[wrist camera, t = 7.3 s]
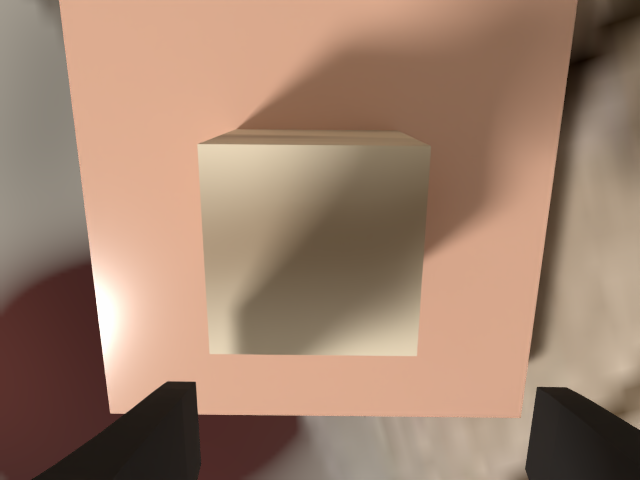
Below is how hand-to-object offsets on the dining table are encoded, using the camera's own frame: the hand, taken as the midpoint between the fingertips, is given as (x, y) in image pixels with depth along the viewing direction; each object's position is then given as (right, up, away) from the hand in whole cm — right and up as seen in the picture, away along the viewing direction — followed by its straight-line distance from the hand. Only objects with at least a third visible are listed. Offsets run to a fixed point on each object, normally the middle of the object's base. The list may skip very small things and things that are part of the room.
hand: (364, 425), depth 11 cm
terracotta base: (-1, +5, +8) cm, 10 cm away
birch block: (-1, +5, +6) cm, 8 cm away
